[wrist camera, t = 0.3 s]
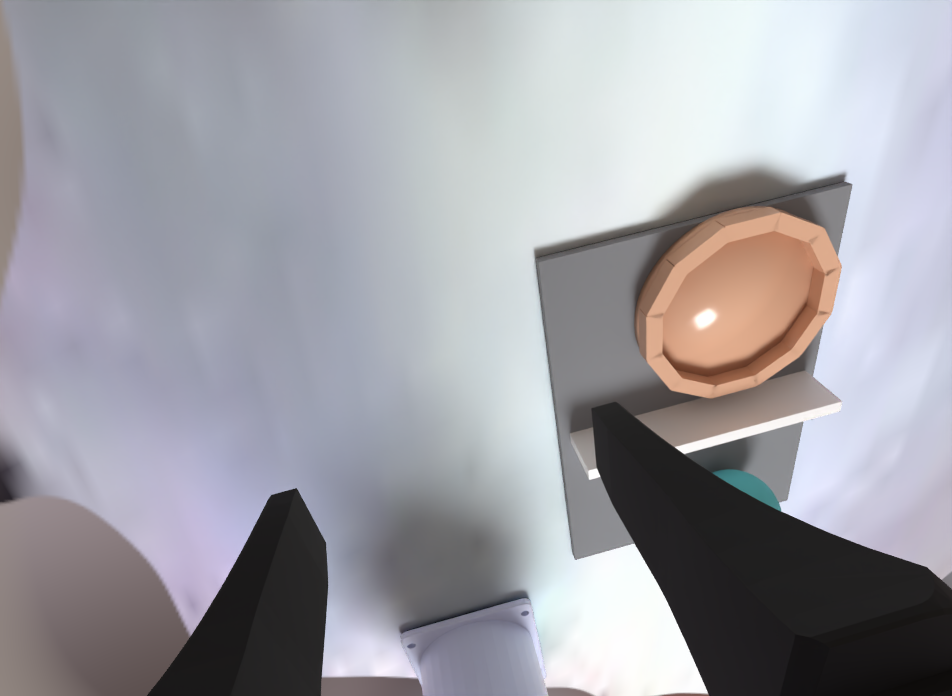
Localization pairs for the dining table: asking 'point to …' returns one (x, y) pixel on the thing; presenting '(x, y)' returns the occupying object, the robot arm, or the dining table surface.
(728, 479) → the ball
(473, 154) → the dining table surface
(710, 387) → the saucer
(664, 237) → the mat
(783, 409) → the wall
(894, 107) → the dining table surface
